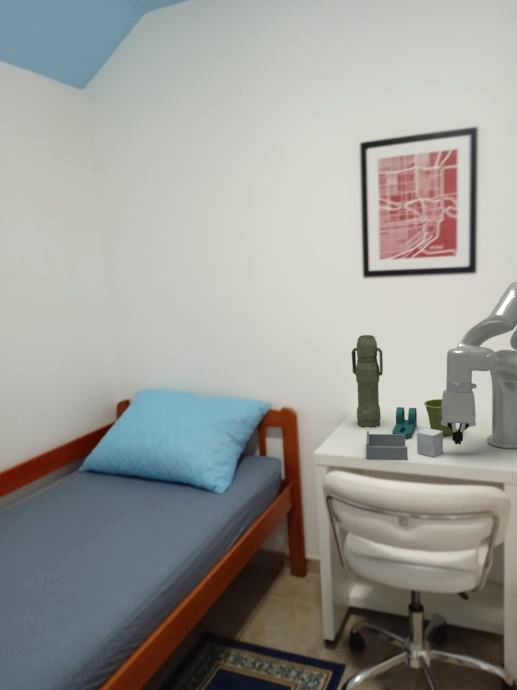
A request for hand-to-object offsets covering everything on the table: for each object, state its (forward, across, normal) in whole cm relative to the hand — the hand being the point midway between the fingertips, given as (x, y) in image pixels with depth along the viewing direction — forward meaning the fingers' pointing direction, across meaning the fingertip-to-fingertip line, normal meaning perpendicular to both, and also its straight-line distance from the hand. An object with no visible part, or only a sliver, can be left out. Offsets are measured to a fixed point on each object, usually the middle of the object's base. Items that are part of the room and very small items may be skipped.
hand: (457, 443), depth 175 cm
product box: (+4, +8, 0) cm, 9 cm away
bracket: (+4, +15, -23) cm, 28 cm away
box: (+4, +22, 0) cm, 22 cm away
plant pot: (+4, +2, -22) cm, 22 cm away
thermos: (+4, +28, -32) cm, 43 cm away
